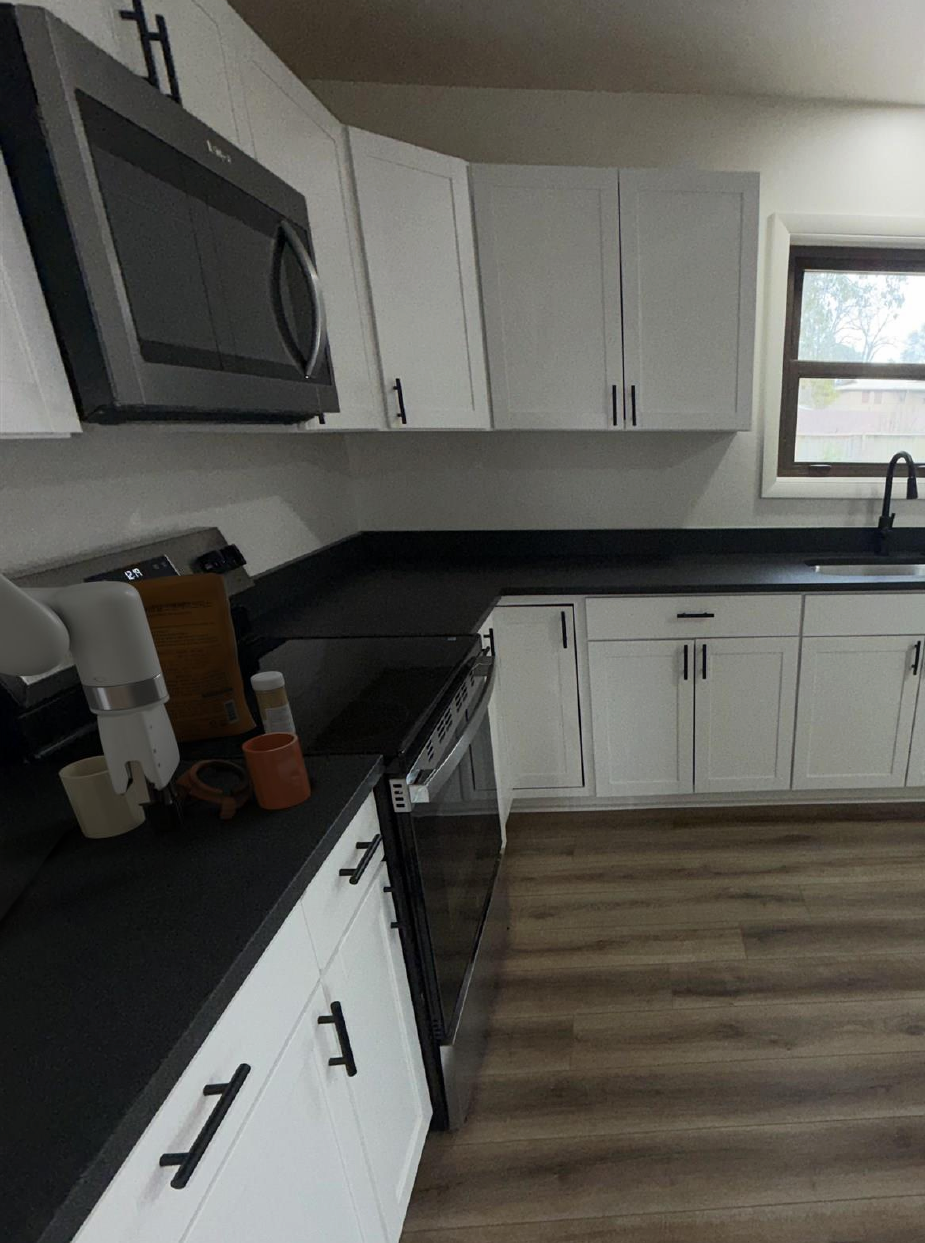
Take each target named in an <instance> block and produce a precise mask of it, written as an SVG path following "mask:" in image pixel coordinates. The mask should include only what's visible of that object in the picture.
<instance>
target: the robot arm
mask: <svg viewBox="0 0 925 1243" xmlns="http://www.w3.org/2000/svg"><path fill="white" fill-rule="evenodd" d="M124 582H125V581H116V580H114V581H113V580H105V581H104V580H101V581H90V582H83V583H75V584H71V585H68V586H62V587H19V586H17V585H16V584H15V583H13V582H12V581H11V580H10V579H8V578H7V577H6V576H4V575H3V574H2V573H0V674H4V675H8V676H13V677H33V676H39V675H42V674H45V673H48V672H50V671H52V670H53V669H55V668H57V667H58V666H59V665H60V663H62V662H63V661H64V659H65V658H66V656H67V655H68V652H70V654H71V655H72V658H73V661H74V664H75V667H76V670H77V674H78V677H79V680H80V682H81V685H82V690H83V691H84V695H85V698H86V702H87V704H88V708H89V710H90V712H91V713H93V714H95V715H97V716H96V719H97V726H98V733H99V739H100V742H101V747H102V752H103V755H105V759H106V763H107V767H108V770H109V774H110V778H111V781H112V785H113V788H114V791H115V793H116V794H118V795H120V796H121V795H124V794H125V793H126V792H127V791H128V789H129V788H130V786H131V785H132V783H134V787H135V792H136V796H137V801H138V805H139V806H142V807H143V809H144V810H145V813H146V816H147V820H148V822H149V826H150V829H151V832H152V834H153V835H155V836H160V835H166V834H172V833H179V832H182V831H183V830H184V828H185V826H186V818H185V816H184V812H183V808H182V809H181V806H180V802H179V799H178V797H176V796H177V791H176V787H175V783H176V782H175V780H174V773H175V771H176V770H177V768H178V766H179V763H180V758H181V757H180V751H179V747H178V744H177V742H176V739H175V735H174V732H173V729H172V726H171V723H170V720H169V717H168V714H167V712H166V709H165V706H164V704H163V703H165V702H167V701H168V700H169V694H168V691H167V687H166V684H165V680H164V677H163V673H162V671H161V667H160V664H159V660H158V656H157V653H156V649H155V646H154V642H153V639H152V635H151V632H150V628H149V625H148V621H147V618H146V614H145V611H144V607H143V604H142V600H141V598H140V595H139V593H138V591H137V590H136V589H135V588H134V587H133V586H132V585H130V584H128V583H124ZM172 797H176V798H172Z"/></svg>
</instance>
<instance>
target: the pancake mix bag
mask: <svg viewBox="0 0 925 1243" xmlns="http://www.w3.org/2000/svg"><path fill="white" fill-rule="evenodd" d="M225 579H226V578H225V575H223V574H220V573H219V574H218V573H214V572H203V573H202V572H201V573H188V574H187V573H186V574H178V575H168V576H160V577H153V578H146V579H141V580H134V581H133V580H132V581H123V582H124V583H128V584H130V585H132V586H133V587H134V588H135V589H136V590H137V591H138V593H139V595H140V598H141V600H142V604H143V607H144V611H145V614H146V618H147V621H148V625H149V628H150V632H151V635H152V639H153V642H154V646H155V649H156V653H157V656H158V660H159V664H160V667H161V671H162V673H163V677H164V680H165V684H166V687H167V691H168V694H169V700H168V701H167V702H165V703H163V704H164V706H165V709H166V712H167V714H168V717H169V720H170V723H171V726H172V729H173V732H174V735H175V739H176V742H177V745H178V744H185V743H191V742H198V741H204V740H211V739H217V738H227V737H232V736H233V737H235V736H238V735H242V734H244V733H246V732H249V731H251V730H253V729H255V728H256V727H257V724H256V722H255V721H254V719H253V717H252V715H251V712H250V710H249V706H248V705H247V700H246V696H245V692H244V690H245V689H244V681H243V678H242V672H241V668H240V664H239V658H238V645H237V640H236V634H235V628H234V624H233V619H232V614H231V602H230V599H229V595H228V589H227V584H226V580H225Z"/></svg>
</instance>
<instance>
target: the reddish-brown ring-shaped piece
mask: <svg viewBox="0 0 925 1243" xmlns="http://www.w3.org/2000/svg"><path fill="white" fill-rule="evenodd" d="M210 768H211V769H214V770H215V772H217V773H230V772H232V773H233V774H234V775H236V776H237V778H238V779H239V781H240V782H241V783H240V784H239V785H237V786H236V787H234V788H230V790H229V794H230V795H224V794H223V789H221V788H218V787H217V788H216V787H213V786H209V785H208V784H206V783H204V782H202V781H201V780H200V779H199V777H198V776H199V775H201V774H202V773H203V772H204V771H206V770H207V769H210ZM247 772H248V771H246V770H245V769H244V768H243V767H242V766H240V765H238V764H237V763H235V762H232V761H228V760H224V759H218V758H217V759H216V758H215V759H214V758H213V759H204V760H201V761H198V762H196V763H194V764H193V765H192V766H190V769H188V770H187V771H185V772H184V773H182V774H181V775H180V776H179V777H178V778H177V780H176V782H174V783H175V787H176V791H177V796H176V797H178V799H179V802H180V806H181V809H182V810H183V806H185V805H186V804H188V803H190V802H197V801H204V800H205V801H207V802H210V803H212V804H216V805H220V812H219V814H218V817H219V818H220V819H221V820H231V819H232V818H233V817H234V815H236V813H237V810H240V809H241V808H242V807H243V806H244V805H245V803H247V801H248V800H249V798H250V795H251V790H250V789H251V785H250V776H249V773H247ZM176 797H172V798H176Z"/></svg>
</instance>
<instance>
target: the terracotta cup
mask: <svg viewBox="0 0 925 1243" xmlns="http://www.w3.org/2000/svg"><path fill="white" fill-rule="evenodd" d="M299 739H300V738H299V736H298V735H297V733H296V734H294V733H289V732H276V733H268V734H265V733H264V734H259V735H257V736H255V737H252V738H250V739H248V740H246V741H245V742H243V743H242V746H241V751H242V753H243V758H244V761H245V765H246V767H247V772H248V776H249V780H250V782H251V785H252V789H253V793H254V796H255V800H256V801H257V802H256V803H257V805H258V806H259V807H260V808H262V809H264V810H281V809H282V810H283V809H287V808H291V807H294V806H297V805H299V804H301V803H303V802H306V801H307V799H309V798H310V797H311V795H312V790H311V784H310V780H309V775H308V772H307V768H306V763H305V759H304V755H303V752H302V748H301V743H300V740H299ZM310 794H311V795H310ZM308 797H309V798H308Z"/></svg>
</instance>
